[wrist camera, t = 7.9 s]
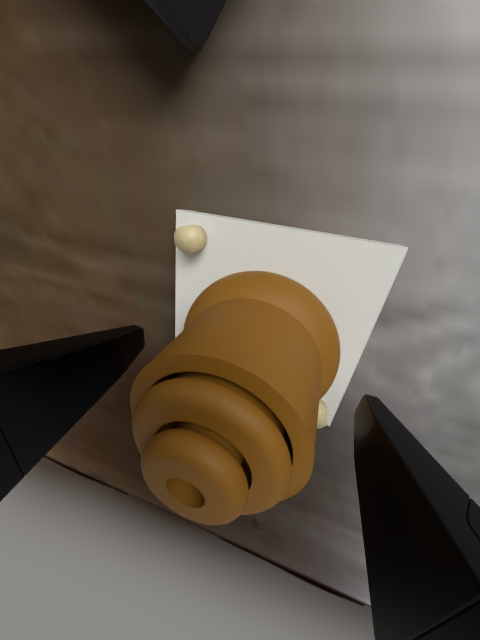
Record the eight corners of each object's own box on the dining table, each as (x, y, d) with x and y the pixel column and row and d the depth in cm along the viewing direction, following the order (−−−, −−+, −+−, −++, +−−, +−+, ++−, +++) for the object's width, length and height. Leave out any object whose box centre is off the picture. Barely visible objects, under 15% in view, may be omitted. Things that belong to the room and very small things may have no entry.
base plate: (400, 245, 10) (417, 251, 8) (329, 413, 14) (330, 441, 13) (186, 209, 12) (163, 209, 10) (182, 365, 16) (166, 384, 15)
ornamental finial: (175, 327, 14) (261, 230, 10) (262, 412, 15) (374, 348, 11) (30, 439, 7) (133, 265, 3) (207, 594, 8) (463, 589, 4)
